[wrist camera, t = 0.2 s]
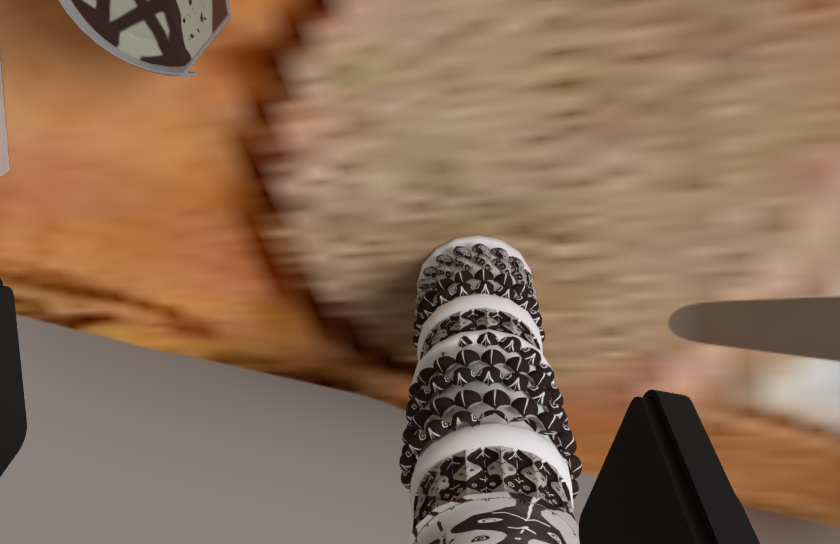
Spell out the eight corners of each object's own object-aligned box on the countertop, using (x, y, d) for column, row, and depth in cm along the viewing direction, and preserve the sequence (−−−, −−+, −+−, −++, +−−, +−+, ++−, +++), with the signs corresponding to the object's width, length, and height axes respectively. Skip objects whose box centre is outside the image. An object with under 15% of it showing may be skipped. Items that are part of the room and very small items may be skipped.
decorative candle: (517, 212, 49) (578, 487, 28) (552, 318, 53) (628, 629, 32) (393, 251, 51) (358, 538, 29) (436, 351, 55) (434, 667, 33)
